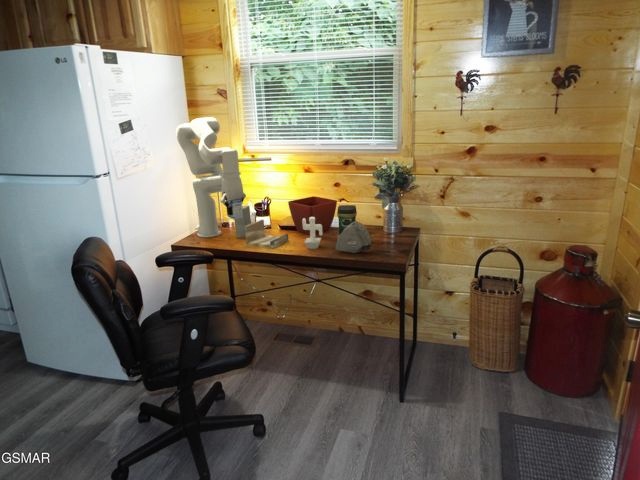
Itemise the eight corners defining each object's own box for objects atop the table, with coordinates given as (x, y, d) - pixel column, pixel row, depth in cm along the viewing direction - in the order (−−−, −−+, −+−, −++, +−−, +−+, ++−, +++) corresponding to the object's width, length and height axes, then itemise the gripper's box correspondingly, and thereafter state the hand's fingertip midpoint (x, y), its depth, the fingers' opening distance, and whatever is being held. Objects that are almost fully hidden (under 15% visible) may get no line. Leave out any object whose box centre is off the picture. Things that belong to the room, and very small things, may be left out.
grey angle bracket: (246, 244, 233) (244, 226, 230) (263, 237, 245) (261, 219, 242) (273, 248, 225) (271, 229, 222) (288, 240, 237) (288, 222, 234)
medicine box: (227, 216, 226) (225, 199, 223) (235, 215, 229) (233, 197, 226) (234, 219, 220) (233, 201, 217) (243, 218, 223) (241, 200, 220)
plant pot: (314, 224, 265) (313, 195, 260) (338, 230, 251) (337, 200, 246) (288, 231, 253) (287, 201, 248) (312, 238, 239) (310, 206, 234)
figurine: (322, 249, 221) (321, 219, 217) (302, 249, 223) (301, 219, 218) (323, 245, 228) (322, 215, 224) (304, 245, 229) (303, 215, 225)
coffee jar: (358, 239, 235) (357, 203, 230) (356, 244, 228) (356, 207, 222) (339, 239, 237) (338, 203, 232) (336, 243, 230) (335, 207, 224)
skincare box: (247, 238, 244) (245, 208, 239) (234, 237, 245) (232, 208, 240) (253, 233, 252) (250, 204, 247) (240, 233, 253) (238, 204, 248)
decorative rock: (372, 251, 217) (372, 220, 213) (369, 256, 211) (369, 224, 207) (338, 249, 222) (337, 218, 217) (334, 253, 216) (333, 222, 211)
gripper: (239, 172, 227) (242, 209, 232) (211, 178, 214) (215, 216, 220) (250, 173, 222) (253, 210, 228) (222, 179, 210) (226, 218, 215)
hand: (234, 213), depth 224 cm, fingers closed on medicine box, 5 cm apart
